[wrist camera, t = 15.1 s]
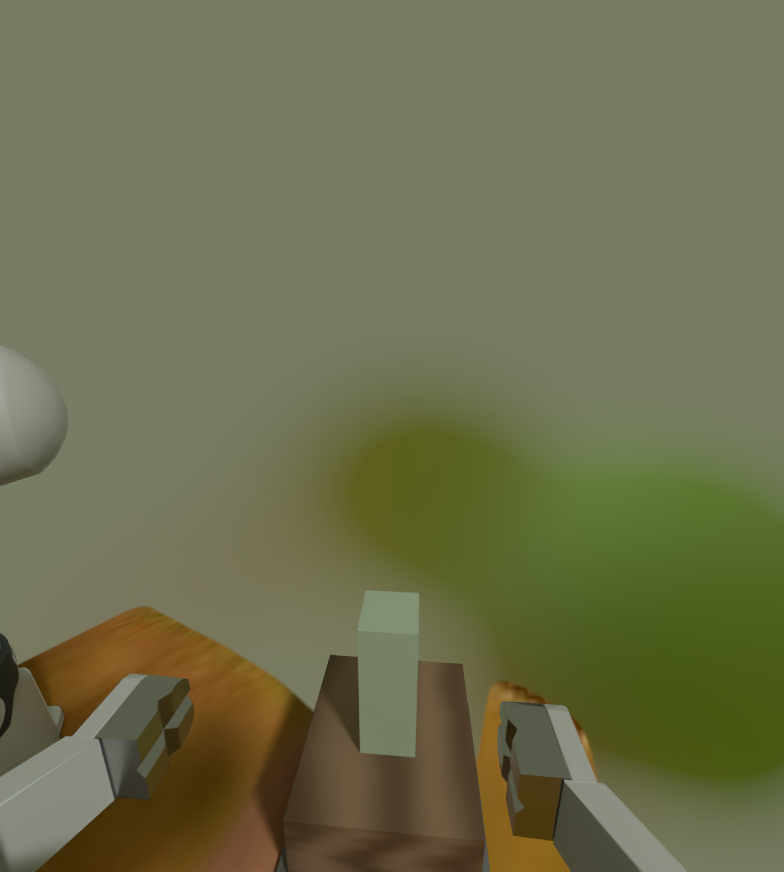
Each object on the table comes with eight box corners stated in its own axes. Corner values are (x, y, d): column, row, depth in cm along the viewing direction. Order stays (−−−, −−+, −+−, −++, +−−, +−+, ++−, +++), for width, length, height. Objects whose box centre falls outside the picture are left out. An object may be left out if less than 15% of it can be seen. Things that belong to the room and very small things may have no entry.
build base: (270, 898, 26) (262, 838, 25) (325, 692, 42) (323, 646, 40) (495, 925, 25) (503, 863, 24) (467, 703, 41) (470, 656, 39)
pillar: (360, 752, 30) (357, 630, 27) (367, 700, 34) (366, 590, 31) (415, 757, 30) (418, 634, 27) (415, 704, 34) (419, 593, 31)
